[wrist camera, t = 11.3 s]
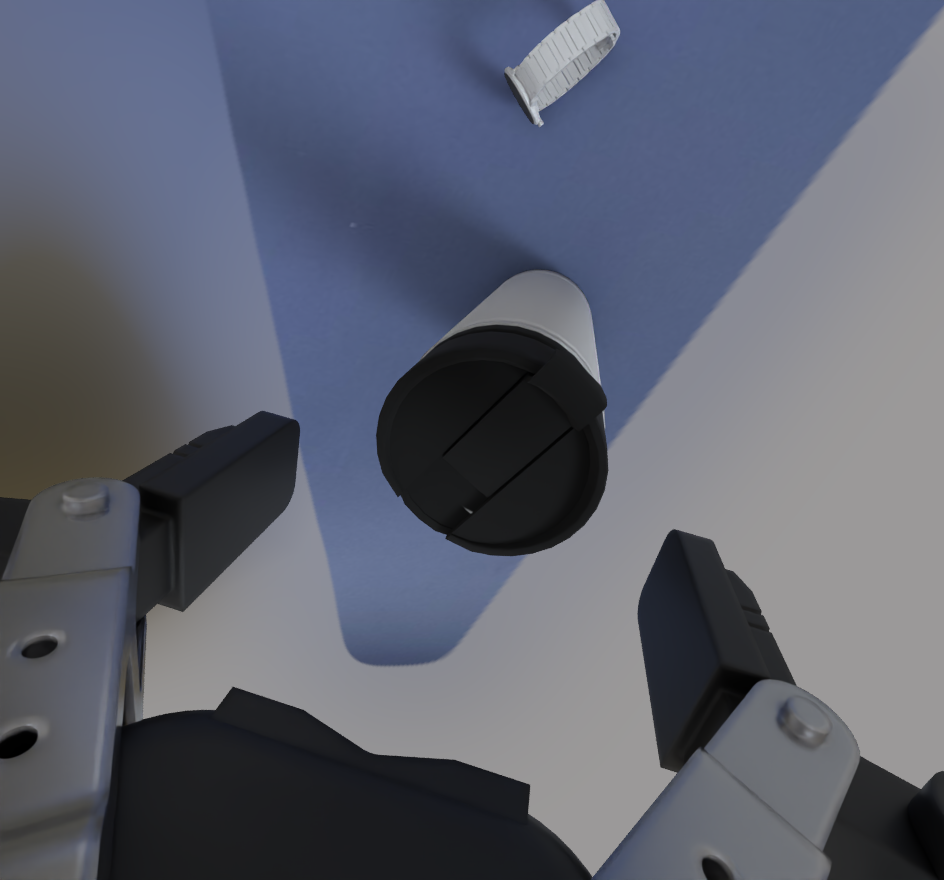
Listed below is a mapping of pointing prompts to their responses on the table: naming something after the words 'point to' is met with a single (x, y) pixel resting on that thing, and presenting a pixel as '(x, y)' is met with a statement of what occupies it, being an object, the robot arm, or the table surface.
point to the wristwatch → (563, 59)
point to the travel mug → (503, 422)
